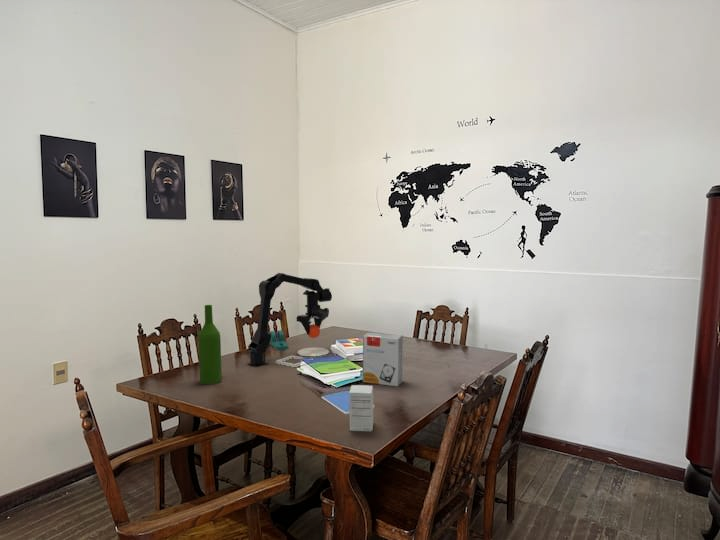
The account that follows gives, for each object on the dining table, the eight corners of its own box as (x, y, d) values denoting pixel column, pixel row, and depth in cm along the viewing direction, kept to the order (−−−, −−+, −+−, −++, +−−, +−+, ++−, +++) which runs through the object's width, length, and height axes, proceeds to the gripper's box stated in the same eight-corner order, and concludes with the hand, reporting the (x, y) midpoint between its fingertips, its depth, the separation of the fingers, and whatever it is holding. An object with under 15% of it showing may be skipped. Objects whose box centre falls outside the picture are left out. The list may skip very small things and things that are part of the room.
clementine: (305, 339, 242) (305, 326, 241) (303, 336, 248) (303, 323, 248) (321, 338, 244) (321, 325, 243) (319, 336, 250) (318, 322, 250)
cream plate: (314, 359, 236) (314, 357, 236) (291, 354, 245) (291, 352, 245) (335, 352, 249) (335, 350, 249) (311, 347, 258) (311, 346, 258)
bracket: (269, 344, 269) (269, 330, 268) (281, 342, 271) (280, 329, 271) (277, 351, 252) (277, 336, 252) (289, 350, 255) (289, 335, 254)
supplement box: (351, 421, 159) (351, 384, 158) (373, 422, 158) (373, 385, 157) (349, 431, 151) (348, 392, 150) (372, 431, 151) (372, 392, 150)
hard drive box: (362, 382, 199) (361, 335, 197) (368, 377, 206) (367, 332, 204) (398, 386, 193) (398, 338, 192) (403, 381, 201) (403, 334, 199)
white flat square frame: (294, 367, 221) (294, 364, 221) (276, 363, 228) (276, 360, 228) (310, 362, 230) (310, 359, 230) (292, 358, 237) (292, 355, 237)
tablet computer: (375, 408, 172) (375, 405, 171) (345, 416, 165) (345, 412, 165) (348, 393, 188) (348, 389, 188) (320, 399, 182) (320, 395, 181)
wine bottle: (212, 376, 209) (210, 303, 206) (226, 380, 204) (223, 304, 201) (195, 382, 202) (192, 305, 199) (208, 385, 197) (206, 307, 194)
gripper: (312, 306, 233) (312, 338, 234) (336, 302, 248) (336, 331, 249) (295, 304, 239) (296, 335, 240) (319, 300, 254) (320, 329, 255)
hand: (312, 332), depth 246 cm, fingers closed on clementine, 7 cm apart
